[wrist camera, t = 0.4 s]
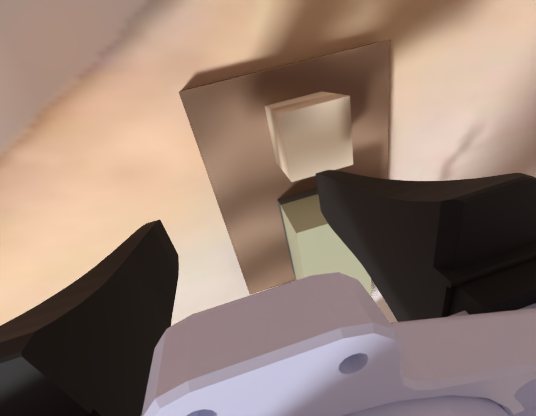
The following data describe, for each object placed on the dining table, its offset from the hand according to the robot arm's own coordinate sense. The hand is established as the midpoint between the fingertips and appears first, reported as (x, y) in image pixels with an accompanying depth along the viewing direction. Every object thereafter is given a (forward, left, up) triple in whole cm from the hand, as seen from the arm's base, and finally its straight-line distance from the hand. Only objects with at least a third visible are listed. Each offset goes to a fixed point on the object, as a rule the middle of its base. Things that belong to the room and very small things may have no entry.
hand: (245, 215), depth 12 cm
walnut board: (-4, -5, -9) cm, 11 cm away
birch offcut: (+1, -5, -8) cm, 9 cm away
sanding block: (-8, -5, -8) cm, 12 cm away
